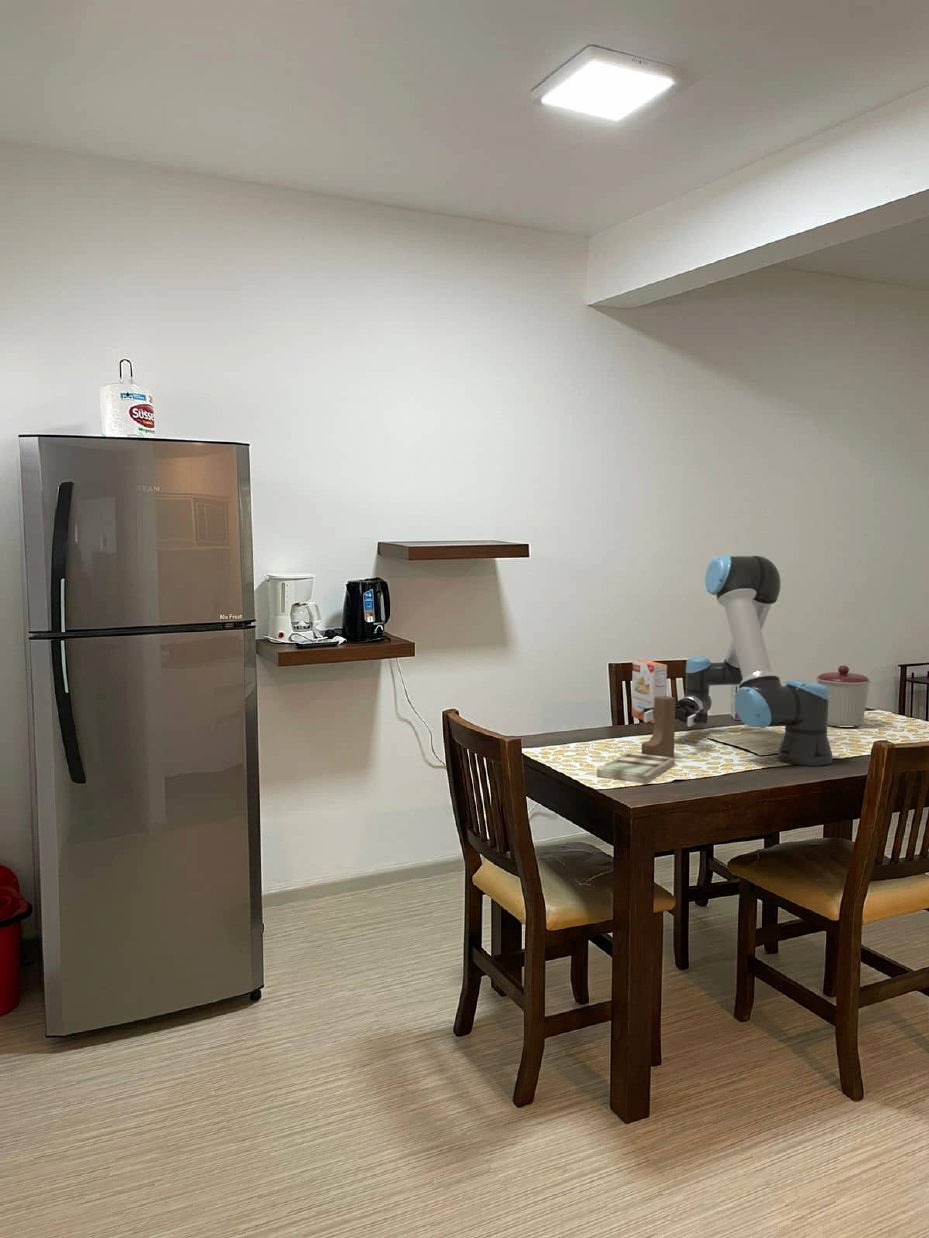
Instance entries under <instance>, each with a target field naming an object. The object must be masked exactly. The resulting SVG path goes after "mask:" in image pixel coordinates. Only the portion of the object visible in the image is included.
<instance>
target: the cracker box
mask: <svg viewBox="0 0 929 1238" xmlns="http://www.w3.org/2000/svg"><path fill="white" fill-rule="evenodd" d="M667 681H668V664H664V663H660V662H656V661H652V660H647V659H635V660H632V684H631V686H632V687H631V689H632V690H631V717H633V718H635V719H638V720H641V721H643V722H644V716H643V709H645V708H652V707H654V699H655V697H658V696H668V695H667V693H668V692H667V689H668V688H667V687H668V685H667V684H668V683H667ZM646 723H649V724H653V725H654V718H653V719H651V720H649V721H647V722H646Z"/></svg>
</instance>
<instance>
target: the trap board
mask: <svg viewBox="0 0 929 1238" xmlns="http://www.w3.org/2000/svg"><path fill="white" fill-rule="evenodd" d="M675 760H676V759H675V757H673V758H670V757H662V756H654V755H646V754H642V753H637V752H629V751H628V752H626V753H624V754H623V755H621V756H619V757H617V758H615V759H613V760H611V761H610V762H608V763H606V764H604V765H602V766H600V767H599V768H597V769H596V777H598V778H605V779H612V780H617V781H627V782H632V783H633V782H634V783H640V784H648V783H650V782H651V781H653V780H655V779H656V778H657V777H658V776H660V775H662V774H663V773H665V772H667V771H668V770H670V769H671V768H673V766H676V765H675V763H676V762H675ZM670 767H671V768H670ZM664 771H665V772H664ZM661 773H662V774H661Z"/></svg>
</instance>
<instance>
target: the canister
mask: <svg viewBox="0 0 929 1238" xmlns="http://www.w3.org/2000/svg"><path fill="white" fill-rule="evenodd" d="M837 671H838V672H837ZM837 671H836V672H835V671H834V672H833V671H832V672H825V673H824V672H823V673H820V674H819V675H818V676H815V680H816V681H817V684H821V685H824V686H826V687H827V689H828V696H829V702H828V723H827V726H828V725H831V726H830V727H832V726H858V727H860V726H861V725H862V724H863V722H864V717H865V713H866V706H867V700H868V694H869V689H870V684H871V683H872V679H869V677H867V676H866V675H863V674H859V673H854V672H853V673H852V672H849V671H850V668H849V667H848V666H847V665H840V666H838V668H837Z"/></svg>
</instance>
